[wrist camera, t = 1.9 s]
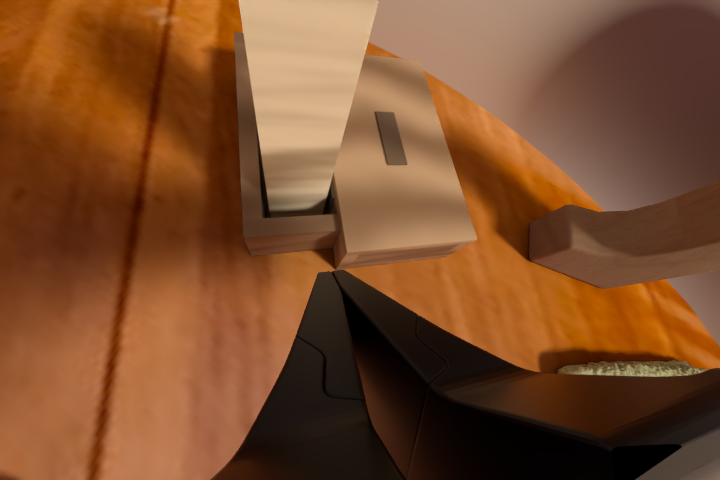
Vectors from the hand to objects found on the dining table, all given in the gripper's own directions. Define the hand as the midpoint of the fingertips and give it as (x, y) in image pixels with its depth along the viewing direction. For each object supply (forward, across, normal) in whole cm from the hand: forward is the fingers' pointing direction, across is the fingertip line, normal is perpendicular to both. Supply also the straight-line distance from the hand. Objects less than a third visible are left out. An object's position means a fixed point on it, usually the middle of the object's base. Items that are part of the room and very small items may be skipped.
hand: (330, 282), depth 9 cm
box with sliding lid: (+18, -5, -1) cm, 18 cm away
